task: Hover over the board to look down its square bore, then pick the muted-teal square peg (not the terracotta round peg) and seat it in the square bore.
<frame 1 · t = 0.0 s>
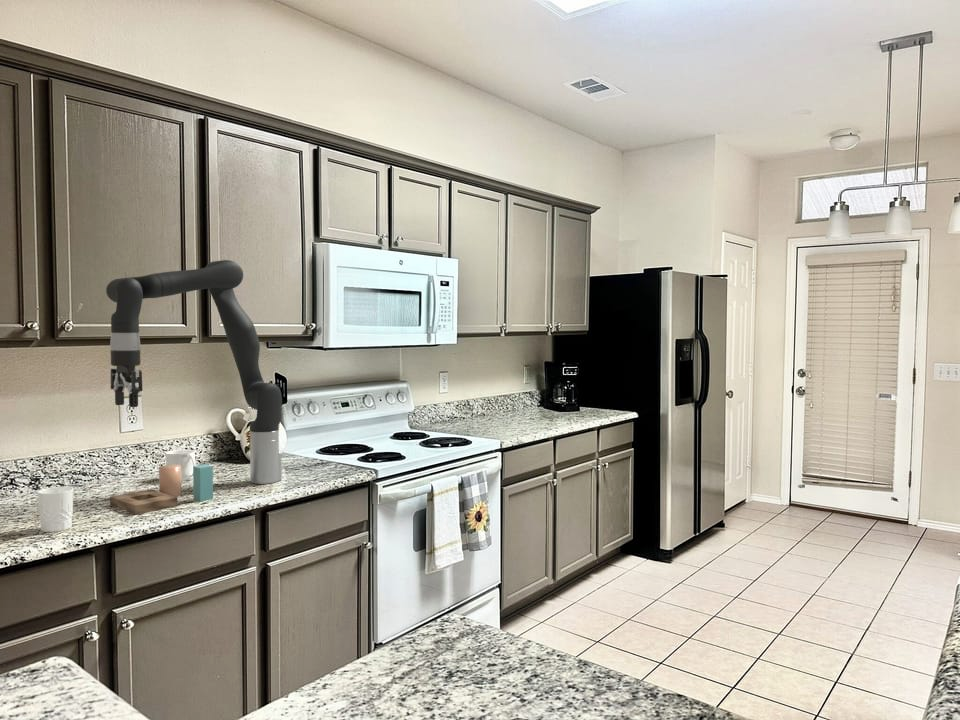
hand: (126, 405, 196), 29 cm above the counter, fingers open, 8 cm apart
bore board: (143, 505, 200), on the counter
mug: (182, 480, 235), on the counter
white cup: (56, 529, 177), on the counter
square peg: (203, 499, 208), on the counter
round peg: (170, 495, 212), on the counter
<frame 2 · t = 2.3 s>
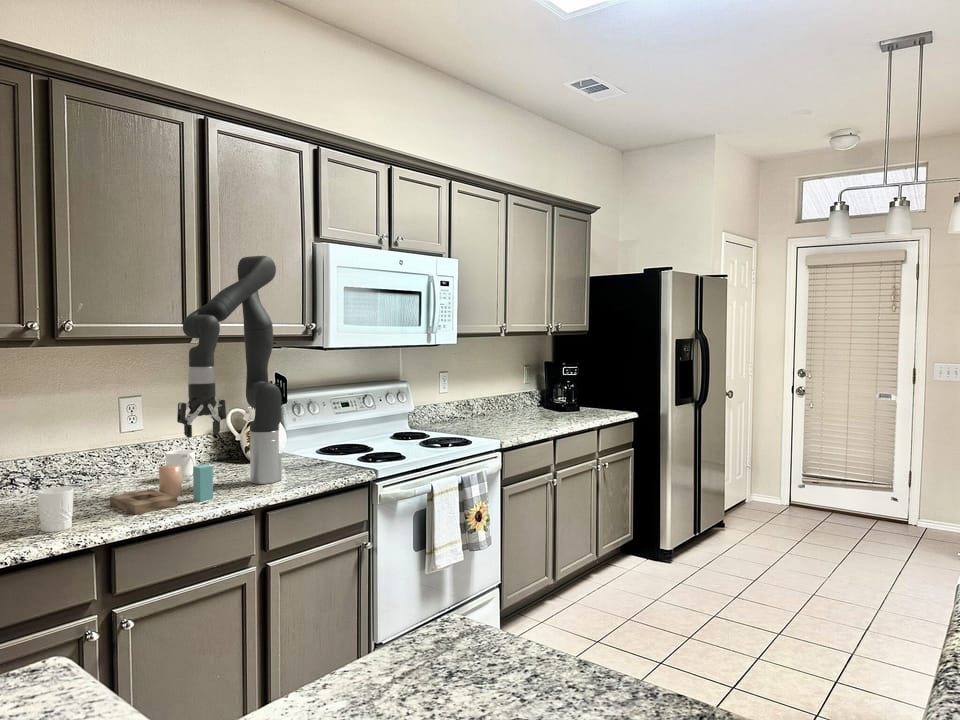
hand: (202, 435, 207), 19 cm above the counter, fingers open, 8 cm apart
nothing on the counter moved.
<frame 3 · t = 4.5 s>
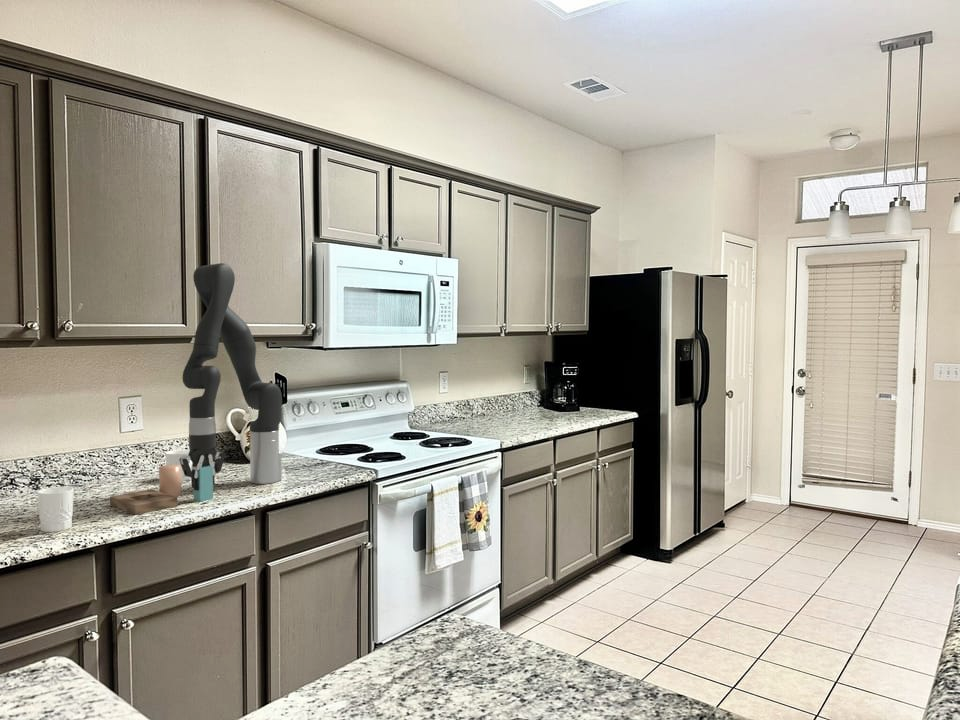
hand: (203, 488, 208), 3 cm above the counter, fingers closed on square peg, 4 cm apart
square peg: (203, 499, 208), on the counter, touching gripper
everything else where it was.
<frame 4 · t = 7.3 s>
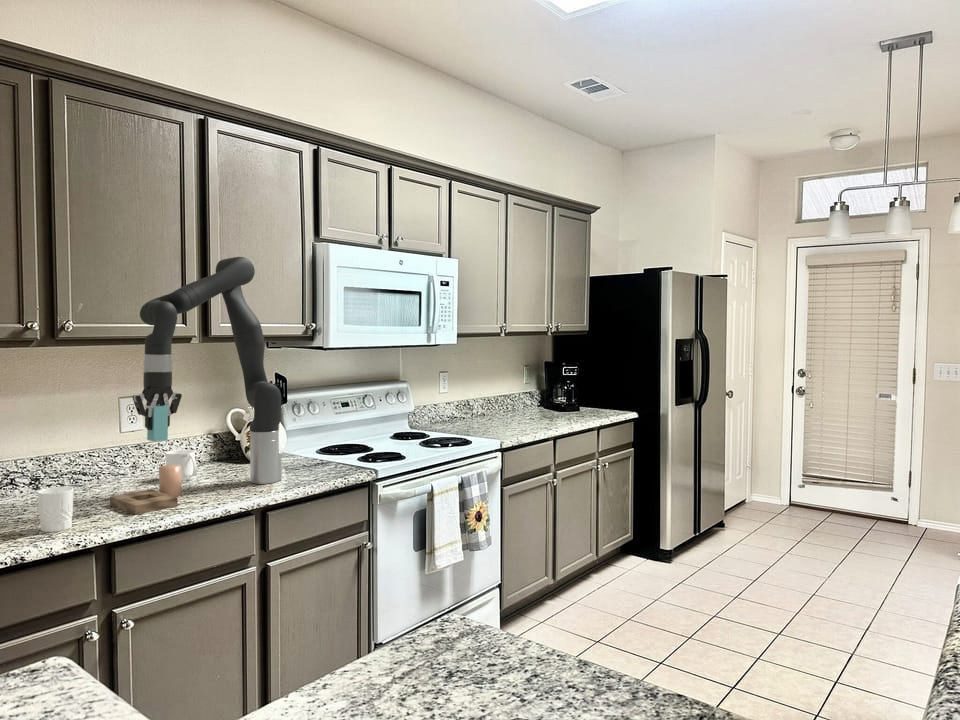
hand: (157, 428, 201), 22 cm above the counter, fingers closed on square peg, 4 cm apart
square peg: (157, 440, 201), point 19 cm above the counter, touching gripper
everything else where it was.
when the fingers open (5 cm above the counter, at t = 10.3 s): square peg drops 1 cm, resting in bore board.
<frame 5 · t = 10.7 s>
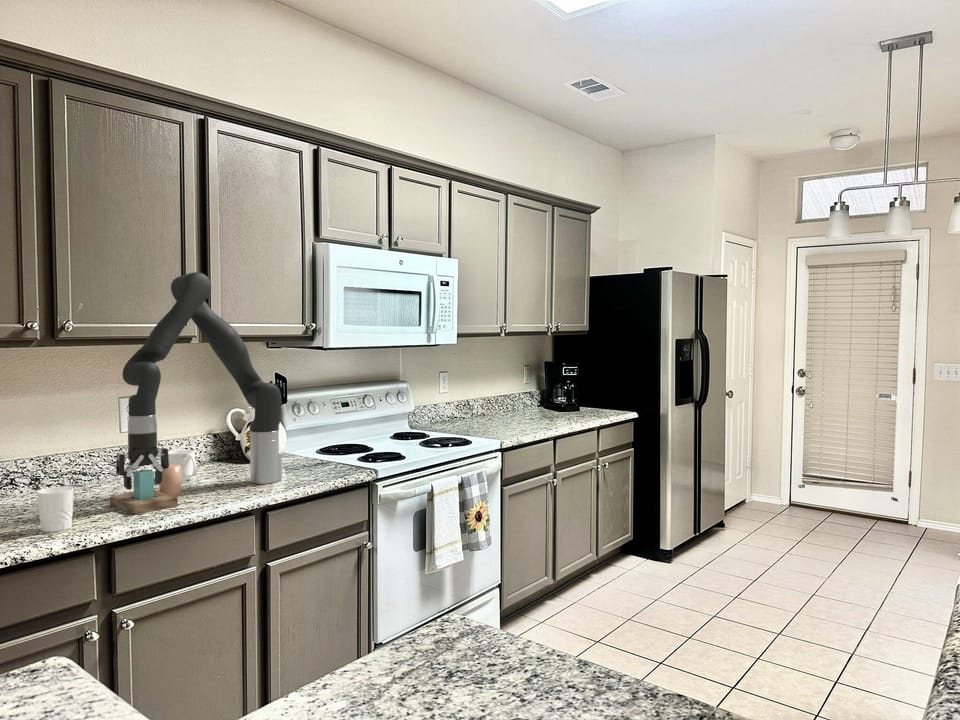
hand: (143, 486, 200), 6 cm above the counter, fingers open, 8 cm apart
square peg: (144, 505, 200), resting in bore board
everything else where it was.
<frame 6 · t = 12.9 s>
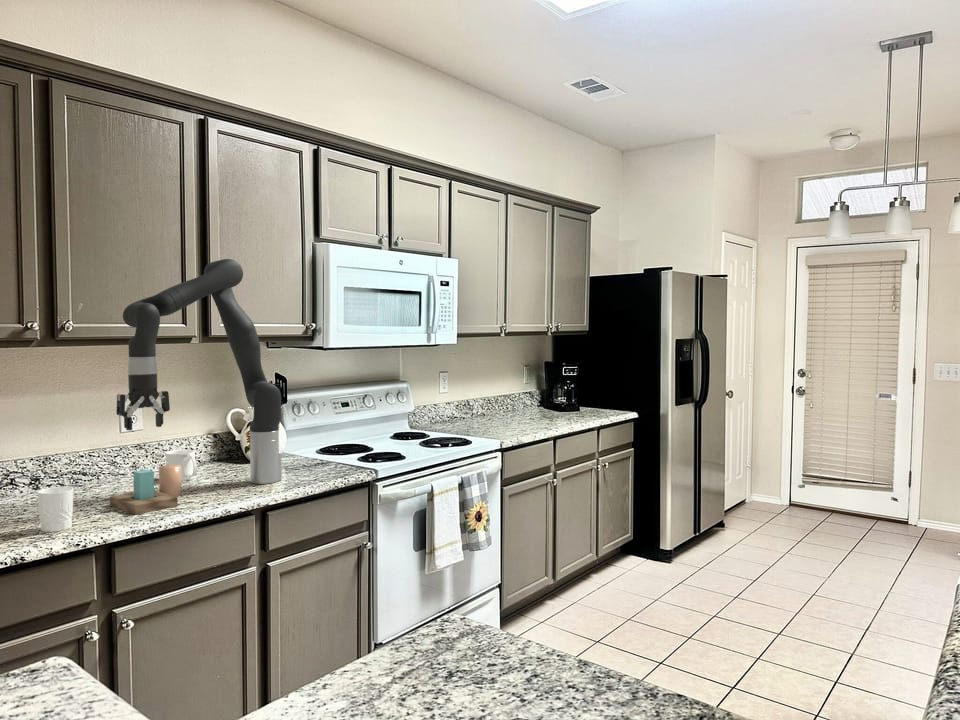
hand: (144, 428, 200), 22 cm above the counter, fingers open, 8 cm apart
nothing on the counter moved.
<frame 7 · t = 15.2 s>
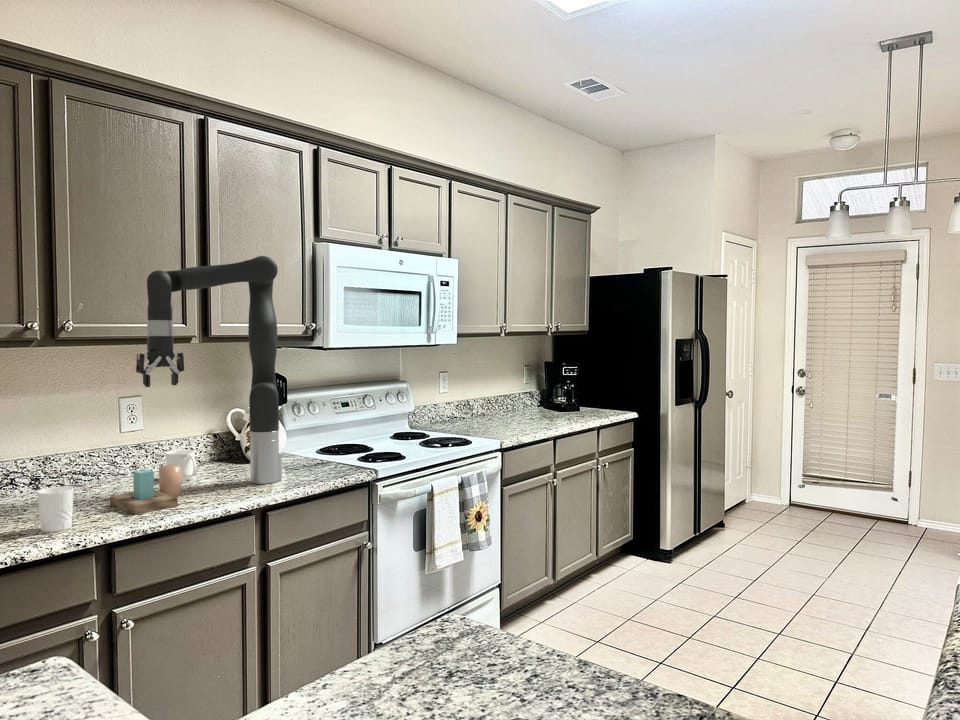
hand: (161, 386, 218), 33 cm above the counter, fingers open, 8 cm apart
nothing on the counter moved.
at the end: square peg 0.1 cm off-centre on the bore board, point 0.0 cm above the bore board's base; square peg tilted 0°; round peg moved 0.0 cm from its start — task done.
